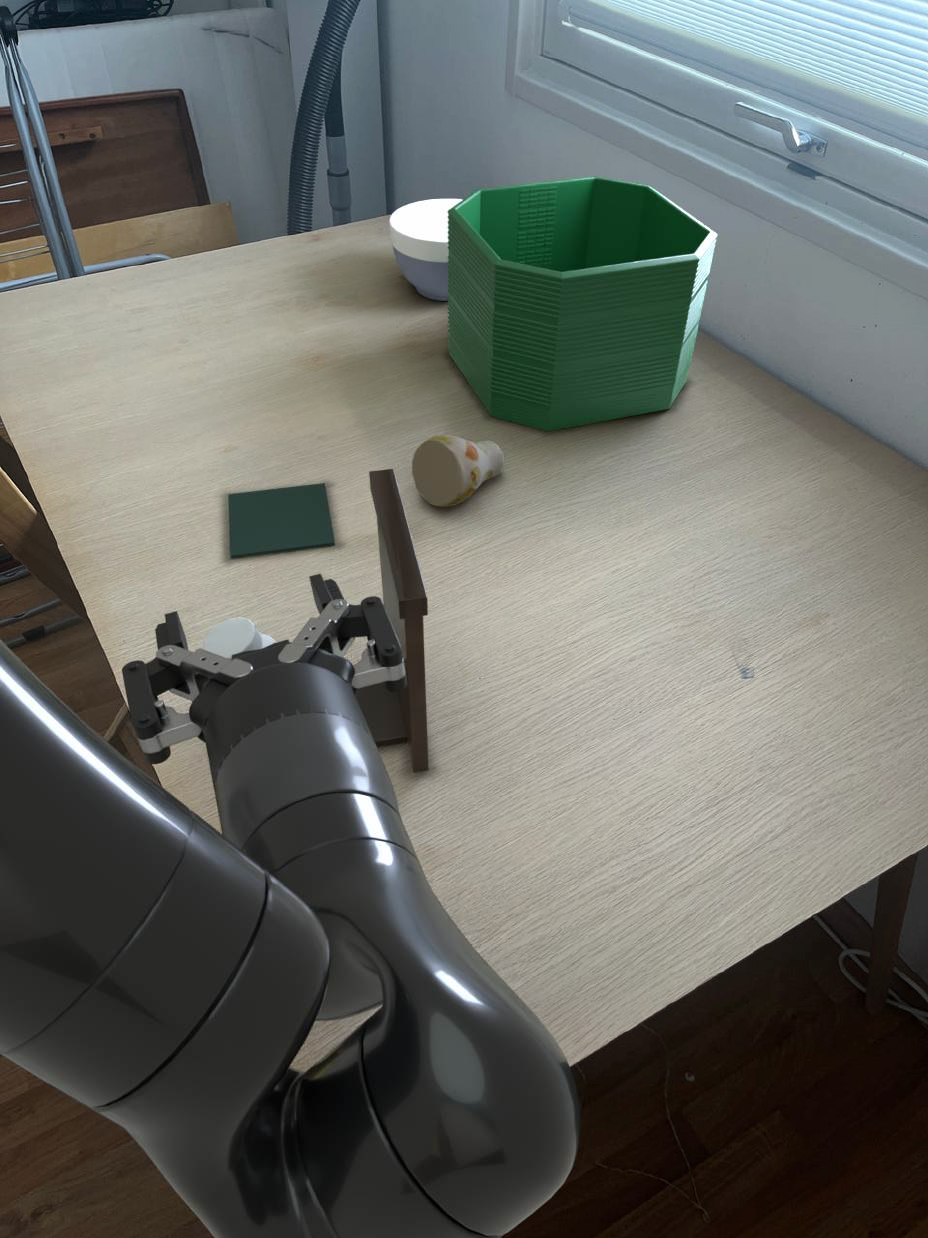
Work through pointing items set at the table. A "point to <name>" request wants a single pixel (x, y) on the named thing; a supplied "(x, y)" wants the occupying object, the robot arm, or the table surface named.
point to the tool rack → (399, 628)
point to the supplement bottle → (235, 638)
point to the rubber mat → (279, 520)
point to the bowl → (423, 245)
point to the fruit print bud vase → (454, 468)
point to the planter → (575, 299)
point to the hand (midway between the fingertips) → (247, 605)
